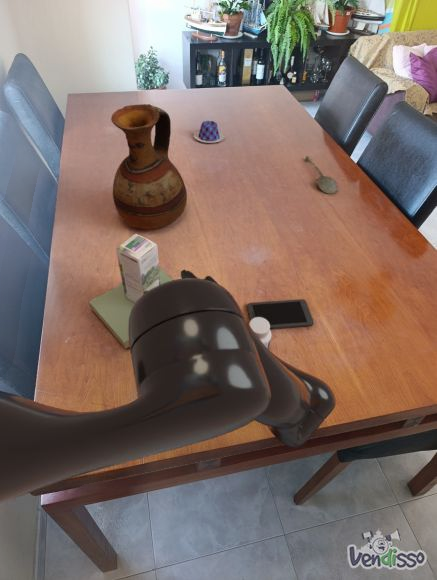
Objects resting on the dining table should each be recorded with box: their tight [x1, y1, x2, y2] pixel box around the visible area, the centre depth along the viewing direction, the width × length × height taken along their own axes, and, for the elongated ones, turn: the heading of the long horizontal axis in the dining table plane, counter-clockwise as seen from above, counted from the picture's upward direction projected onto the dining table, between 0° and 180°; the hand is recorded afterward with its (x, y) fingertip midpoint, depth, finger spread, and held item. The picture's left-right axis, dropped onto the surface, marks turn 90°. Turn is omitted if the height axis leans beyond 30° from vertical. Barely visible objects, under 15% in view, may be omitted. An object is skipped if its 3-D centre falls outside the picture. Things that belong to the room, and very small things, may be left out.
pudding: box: [193, 120, 226, 144], centre depth 140 cm, size 12×12×5 cm
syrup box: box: [115, 233, 161, 303], centre depth 77 cm, size 6×6×14 cm
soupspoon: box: [305, 155, 339, 195], centre depth 125 cm, size 22×3×7 cm
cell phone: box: [246, 298, 314, 330], centre depth 83 cm, size 7×14×1 cm, turn 97°
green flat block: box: [88, 266, 174, 349], centre depth 82 cm, size 18×14×3 cm
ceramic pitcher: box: [110, 103, 188, 230], centre depth 97 cm, size 20×20×30 cm
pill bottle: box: [248, 317, 272, 351], centre depth 74 cm, size 5×5×9 cm
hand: (164, 283), depth 70 cm, fingers open, 8 cm apart
